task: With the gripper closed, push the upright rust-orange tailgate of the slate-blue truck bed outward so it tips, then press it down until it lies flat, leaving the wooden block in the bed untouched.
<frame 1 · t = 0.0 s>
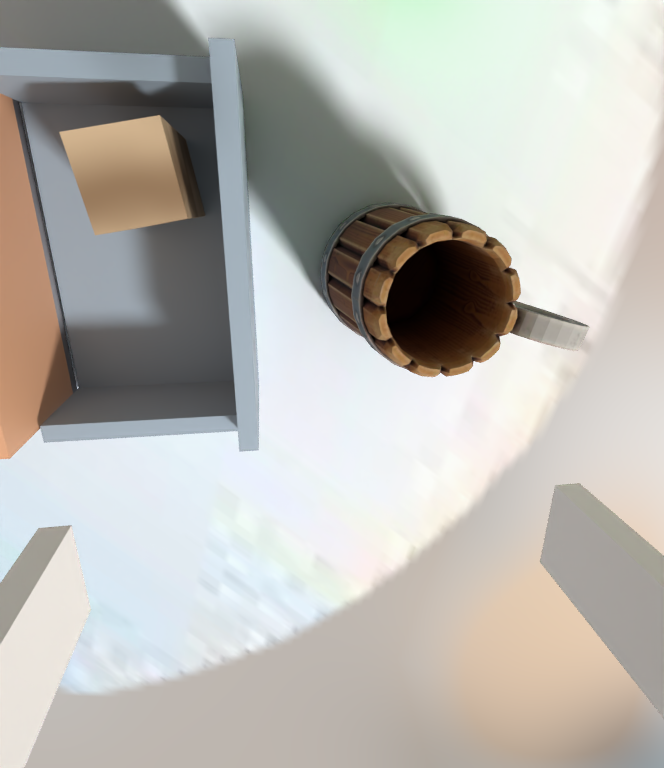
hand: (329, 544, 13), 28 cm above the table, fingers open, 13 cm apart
mug: (409, 278, 39), on the table
tailgate: (6, 268, 29), point 6 cm above the table, hinge at 0.0°
wooden block: (160, 185, 33), point 1 cm above the table, touching truck bed
truck bed: (159, 256, 36), on the table
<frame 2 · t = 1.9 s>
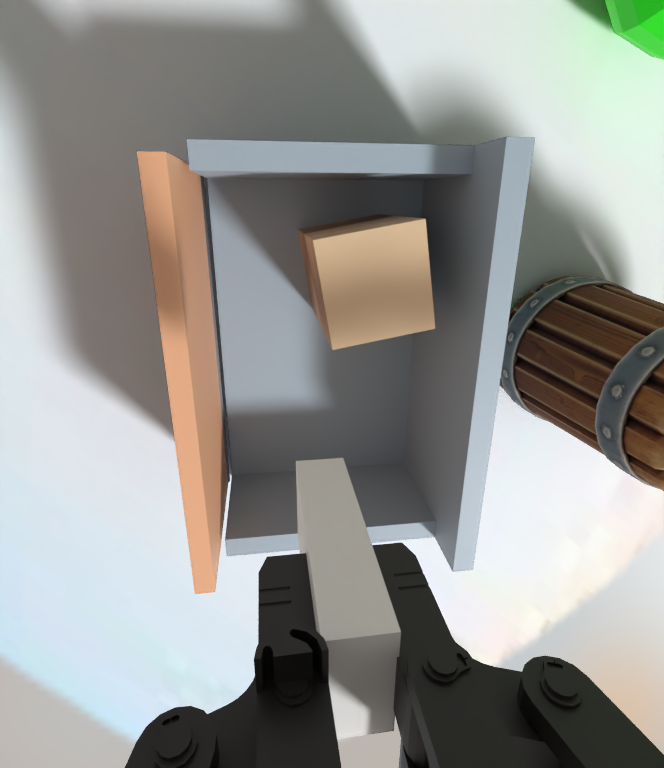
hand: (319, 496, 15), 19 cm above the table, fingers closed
mug: (582, 350, 36), on the table
tailgate: (198, 370, 25), point 6 cm above the table, hinge at 0.0°
wooden block: (344, 263, 29), point 1 cm above the table, touching truck bed
truck bed: (325, 334, 32), on the table
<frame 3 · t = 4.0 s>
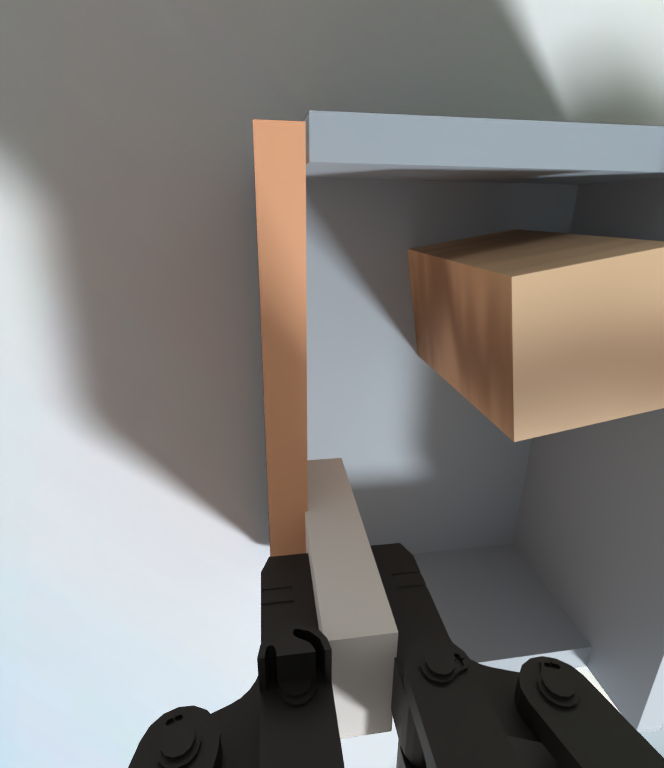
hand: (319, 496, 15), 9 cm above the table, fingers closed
tailgate: (281, 453, 18), point 6 cm above the table, hinge at 0.9°, touching gripper
wooden block: (464, 294, 22), point 1 cm above the table, touching truck bed
truck bed: (424, 384, 25), on the table
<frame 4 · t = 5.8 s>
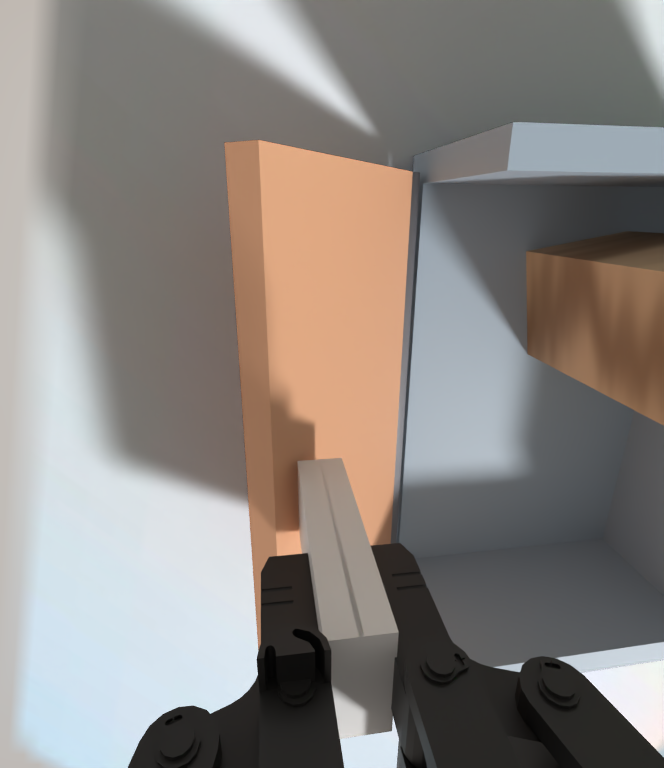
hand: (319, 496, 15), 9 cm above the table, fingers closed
tailgate: (346, 441, 19), point 5 cm above the table, hinge at 38.2°, touching gripper
wooden block: (575, 294, 22), point 1 cm above the table, touching truck bed
truck bed: (524, 382, 25), on the table
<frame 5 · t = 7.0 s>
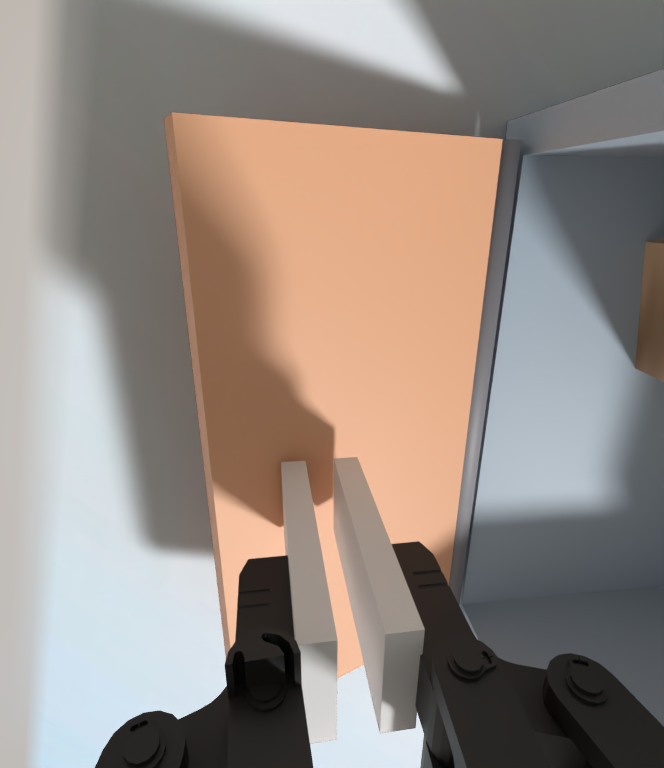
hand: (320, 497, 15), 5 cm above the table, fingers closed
tailgate: (364, 452, 17), point 3 cm above the table, hinge at 68.3°, touching gripper
truck bed: (621, 400, 21), on the table
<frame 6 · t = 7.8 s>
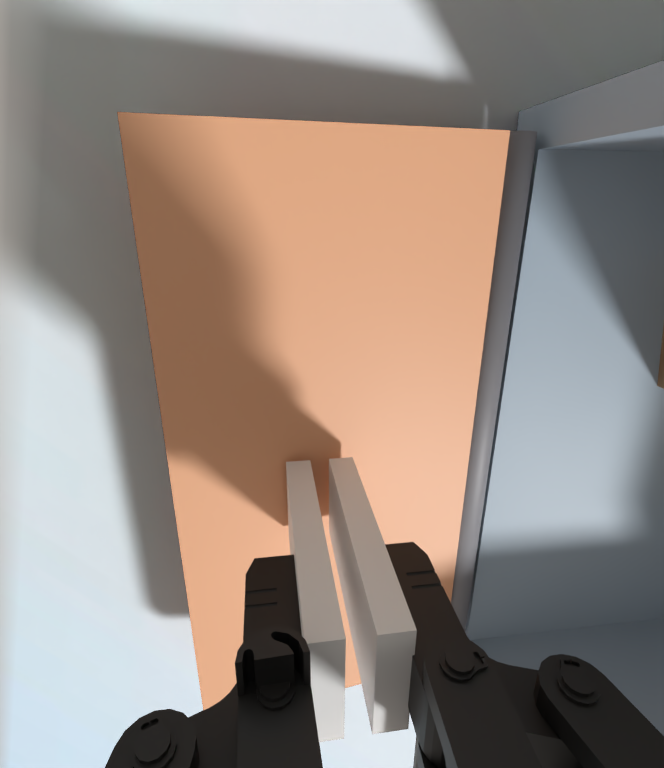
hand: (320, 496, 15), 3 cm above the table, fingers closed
tailgate: (344, 465, 16), point 2 cm above the table, hinge at 81.8°, touching gripper
truck bed: (638, 418, 19), on the table
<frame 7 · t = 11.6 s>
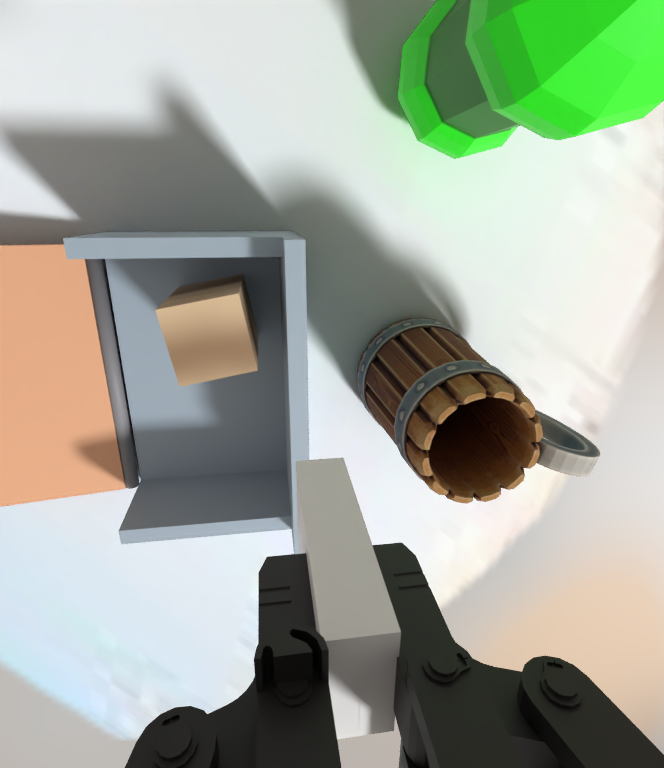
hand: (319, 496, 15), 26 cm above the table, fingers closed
plastic bottle: (447, 91, 35), on the table
mug: (435, 376, 44), on the table
tailgate: (44, 381, 36), point 2 cm above the table, hinge at 82.0°
wooden block: (220, 311, 37), point 1 cm above the table, touching truck bed
truck bed: (214, 365, 40), on the table
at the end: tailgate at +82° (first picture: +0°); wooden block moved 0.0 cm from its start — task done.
